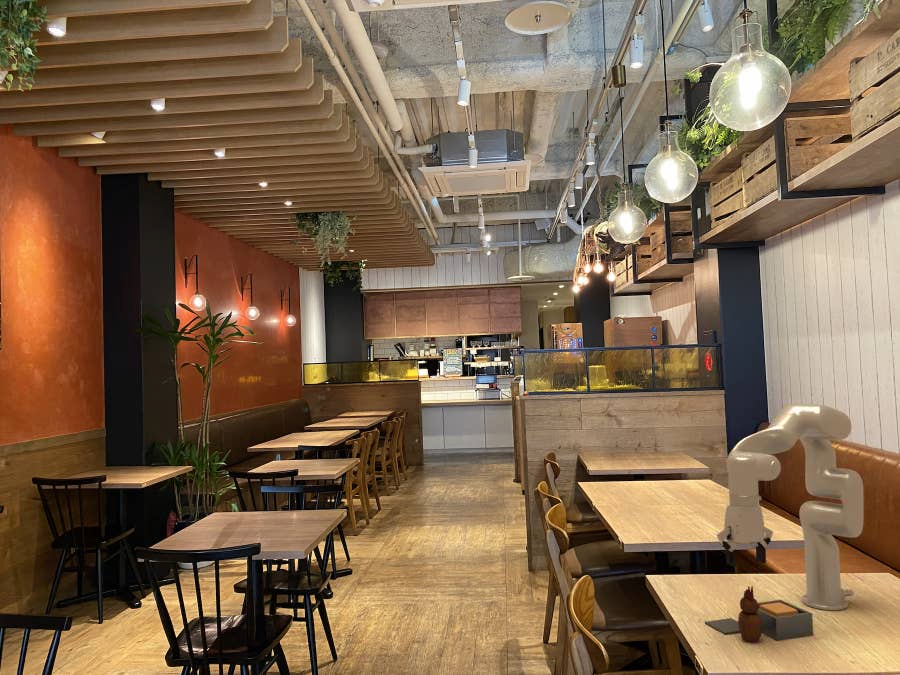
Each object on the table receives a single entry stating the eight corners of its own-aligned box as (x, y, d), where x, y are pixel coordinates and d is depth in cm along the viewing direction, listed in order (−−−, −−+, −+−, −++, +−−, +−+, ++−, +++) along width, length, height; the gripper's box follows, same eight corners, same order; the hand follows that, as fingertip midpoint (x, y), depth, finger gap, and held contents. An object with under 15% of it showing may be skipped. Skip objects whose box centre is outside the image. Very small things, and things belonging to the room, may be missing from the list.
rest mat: (731, 620, 203) (731, 618, 203) (752, 631, 195) (752, 628, 195) (704, 623, 201) (704, 621, 201) (724, 635, 192) (724, 632, 192)
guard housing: (781, 620, 202) (780, 599, 202) (813, 635, 190) (812, 613, 191) (747, 625, 199) (746, 604, 199) (776, 640, 187) (775, 618, 187)
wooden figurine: (765, 645, 185) (762, 588, 185) (742, 644, 186) (739, 587, 186) (759, 635, 191) (756, 580, 192) (736, 634, 192) (734, 580, 193)
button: (780, 607, 199) (779, 602, 199) (798, 616, 192) (797, 610, 192) (759, 610, 197) (759, 605, 197) (777, 619, 190) (776, 613, 191)
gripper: (760, 496, 196) (763, 557, 195) (708, 500, 192) (710, 562, 191) (780, 501, 189) (782, 564, 188) (725, 505, 184) (728, 570, 183)
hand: (746, 563), depth 189 cm, fingers open, 9 cm apart
